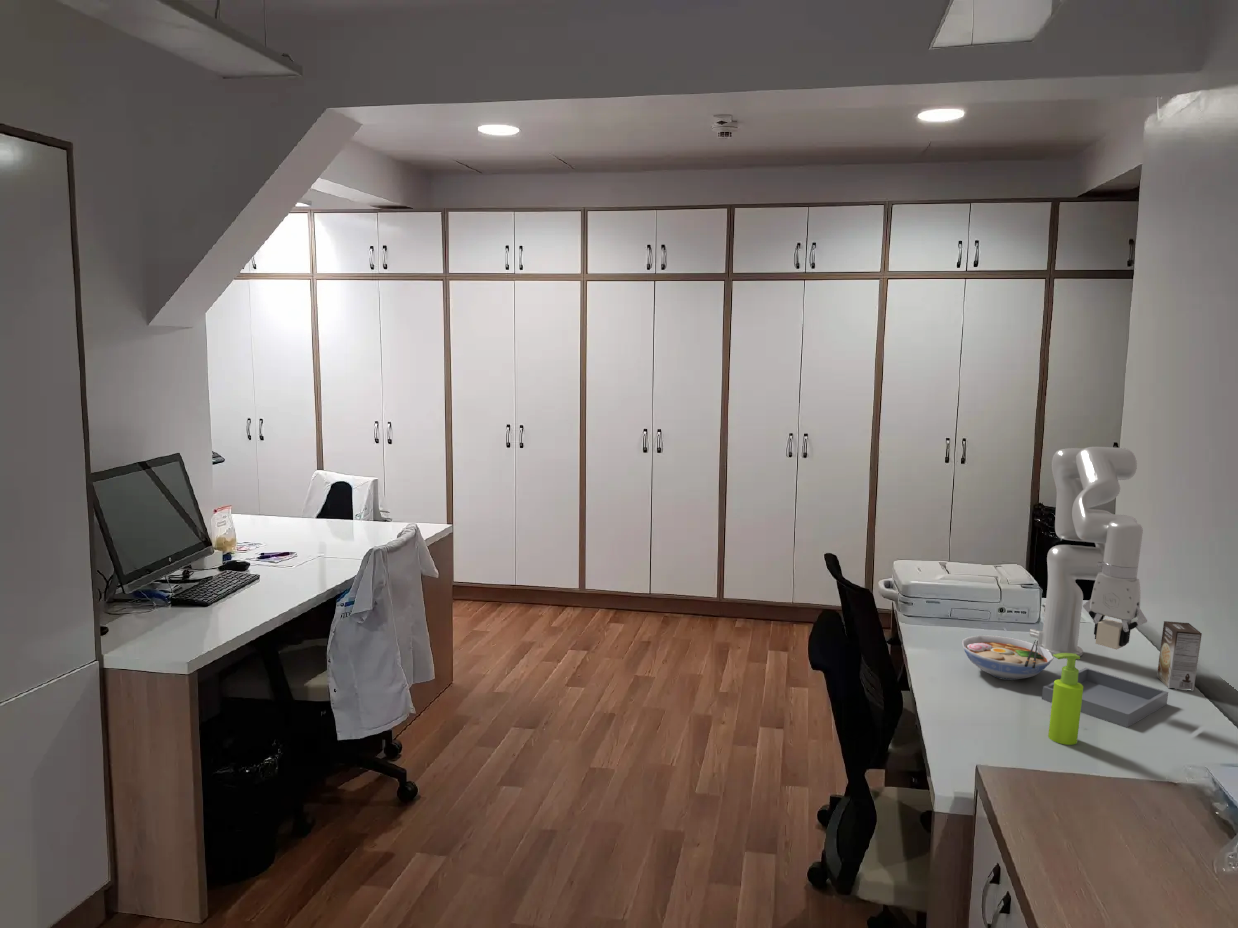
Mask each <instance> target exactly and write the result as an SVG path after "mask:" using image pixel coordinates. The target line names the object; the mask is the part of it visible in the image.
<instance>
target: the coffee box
mask: <svg viewBox="0 0 1238 928" xmlns="http://www.w3.org/2000/svg"><path fill="white" fill-rule="evenodd" d="M1202 635H1203V634H1202V633H1201V631H1199V630H1198V629H1197V628H1196V627H1194V625H1192V624H1190V623H1189V622H1181V621H1167V620H1166V621H1165V620H1164V621H1163V627H1162V634H1161V640H1160V641H1161V642H1160V649H1159V656H1158V664H1157V670H1156V671H1157V673H1156V677H1157V678H1158V679H1159V680H1160V681H1161V682H1162V683H1163V684H1164V685H1165V686H1166V687H1167V686H1168V687H1167V688H1168V689H1169V688H1175V689H1174V690H1177V689H1191V690H1195V685H1196V677H1197V671H1198V662H1199V656H1200V655H1199V654H1200V650H1201V649H1200V648H1201V642H1202V641H1201V640H1202V637H1203V636H1202Z"/></svg>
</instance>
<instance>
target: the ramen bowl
mask: <svg viewBox="0 0 1238 928" xmlns="http://www.w3.org/2000/svg"><path fill="white" fill-rule="evenodd" d="M1036 642H1037V644H1038V639H1037V641H1036V639H1035V640H1034V641H1033V643H1032V642H1030V641H1026V640H1022V639H1017V638H1013V637H1006V636H999V635H983V634H982V635H974V636H968V637H966V638H963V639H962V640H961V643H962V648H963V650H964V653H965V654H966V656H967V658H968V659H969V660H970V662H971V663H972V664H974V665H975V667H977V668H978V669H980V670H981V671H983V672H985V673H987V674H990V675H991V676H992V677H995V678H996V679H997V678H998V679H1000V680H1001V679H1002V680H1005V681H1015V680H1020V679H1021V680H1022V679H1028V678H1032V677H1034V676H1037V675H1038V674H1040V673H1041V672H1043V670H1045V669H1046V668H1047V667H1048V666H1049V665H1050V664H1051V662H1052V661H1053V660H1054V656H1053V655H1052V654H1051V652H1049V651H1047V650H1046V649H1044V648H1043V647H1041V646H1038V645H1036Z"/></svg>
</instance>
